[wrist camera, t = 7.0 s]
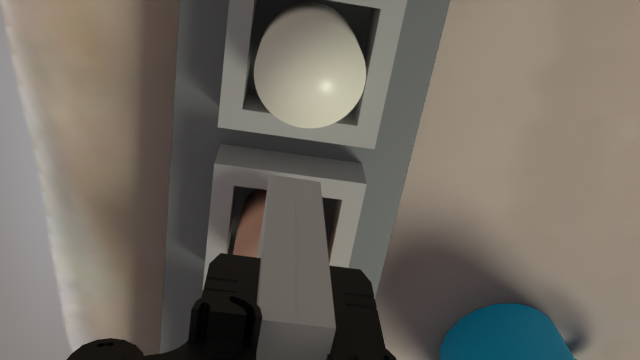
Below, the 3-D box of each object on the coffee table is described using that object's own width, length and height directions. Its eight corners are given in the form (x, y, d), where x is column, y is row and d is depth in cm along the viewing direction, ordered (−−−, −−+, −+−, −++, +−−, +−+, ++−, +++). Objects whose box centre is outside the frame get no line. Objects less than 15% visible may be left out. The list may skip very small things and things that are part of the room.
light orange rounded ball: (244, 179, 29) (236, 218, 25) (331, 190, 29) (335, 230, 26) (235, 252, 31) (227, 299, 27) (317, 262, 31) (319, 309, 28)
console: (198, -117, 27) (175, -121, 22) (450, -71, 28) (483, -65, 23) (166, 374, 39) (147, 441, 34) (340, 391, 40) (345, 458, 36)
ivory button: (266, -7, 25) (260, 9, 22) (365, 10, 26) (376, 28, 22) (255, 91, 27) (247, 120, 23) (347, 104, 27) (354, 135, 24)
